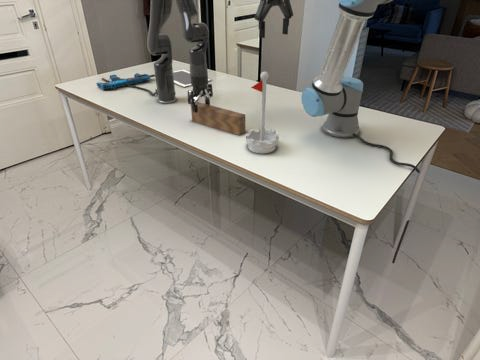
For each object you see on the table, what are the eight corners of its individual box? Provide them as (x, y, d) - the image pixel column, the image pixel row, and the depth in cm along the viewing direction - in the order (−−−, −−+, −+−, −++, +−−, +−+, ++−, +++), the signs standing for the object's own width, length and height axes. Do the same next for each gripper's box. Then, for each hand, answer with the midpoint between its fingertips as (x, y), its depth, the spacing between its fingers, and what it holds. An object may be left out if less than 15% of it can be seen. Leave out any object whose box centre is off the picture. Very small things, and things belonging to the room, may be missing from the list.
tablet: (157, 75, 221) (157, 74, 221) (183, 69, 232) (183, 69, 232) (184, 87, 201) (183, 86, 200) (211, 80, 212) (211, 79, 211)
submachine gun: (140, 68, 226) (159, 74, 209) (142, 73, 228) (160, 80, 211) (89, 77, 207) (104, 85, 190) (90, 84, 209) (106, 92, 192)
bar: (245, 131, 149) (245, 114, 145) (239, 135, 146) (239, 117, 142) (198, 118, 162) (197, 101, 158) (192, 121, 159) (190, 104, 155)
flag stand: (269, 137, 144) (273, 65, 127) (283, 151, 134) (289, 74, 117) (240, 142, 140) (240, 68, 123) (253, 157, 130) (255, 78, 113)
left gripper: (203, 68, 153) (205, 103, 162) (181, 76, 143) (185, 112, 152) (216, 71, 149) (217, 106, 158) (194, 79, 140) (197, 116, 148)
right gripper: (291, -21, 148) (288, 31, 159) (246, -19, 136) (246, 37, 147) (303, -21, 143) (299, 33, 154) (258, -19, 131) (257, 40, 142)
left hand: (201, 109), depth 155 cm, fingers open, 8 cm apart
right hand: (273, 35), depth 151 cm, fingers open, 13 cm apart
